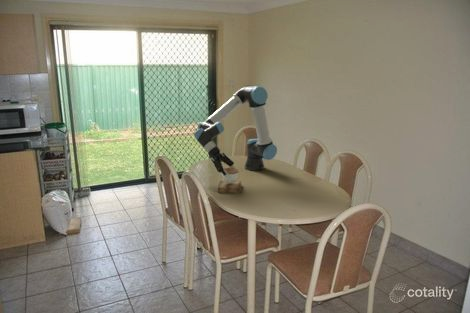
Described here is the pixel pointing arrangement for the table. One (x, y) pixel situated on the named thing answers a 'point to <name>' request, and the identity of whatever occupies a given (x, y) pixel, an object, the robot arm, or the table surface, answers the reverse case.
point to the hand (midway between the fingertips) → (233, 176)
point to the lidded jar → (232, 173)
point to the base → (229, 187)
